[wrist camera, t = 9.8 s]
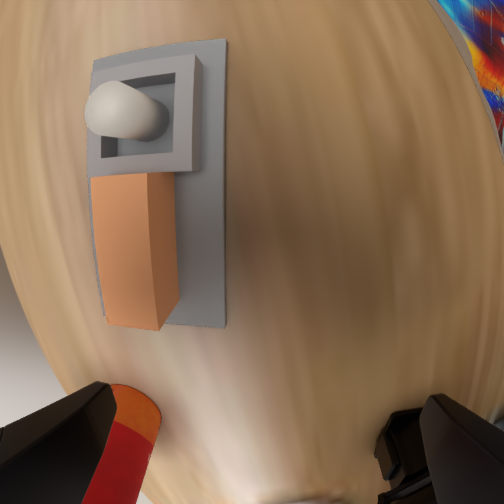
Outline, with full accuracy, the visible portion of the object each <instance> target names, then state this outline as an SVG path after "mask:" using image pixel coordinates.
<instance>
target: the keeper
mask: <svg viewBox="0 0 504 504" xmlns="http://www.w3.org/2000/svg"><path fill="white" fill-rule="evenodd" d="M190 54H196V56H197V57H198V58H199V60H200V61H201V63H202V64H203V65H204V66H203V89H202V123H201V171H177V172H174V192H175V227H176V249H177V267H178V282H179V295H180V301H179V302H178V303H177V305H176V306H175V308H174V309H173V311H172V312H171V314H170V315H169V317H168V318H167V320H166V321H165V323H166V324H176V325H187V326H199V327H213V328H225V326H226V290H225V111H226V71H227V40H226V39H212V40H201V41H191V42H183V43H175V44H168V45H162V46H156V47H150V48H145V49H140V50H135V51H130V52H125V53H121V54H117V55H113V56H109V57H105V58H101V59H97V60H94V63H93V71H92V72H96V71H100V70H104V69H108V68H112V67H117V66H121V65H126V64H131V63H136V62H141V61H147V60H153V59H159V58H166V57H173V56H181V55H190ZM174 95H175V83H170V84H162V85H154V86H147V87H141V88H132V87H130V86H128V85H126V84H124V83H122V82H119V81H108V82H105V83H103V84H101V85H100V86H98V87H97V88H96V89H95V90H94V91H93V92H92V94H91V95H90V97H89V98H88V101H87V103H86V107H85V121H86V124H87V126H88V128H89V129H90V130H91V131H92V132H93V133H95V134H97V135H102V136H109V137H117V138H118V148H117V157H119V156H130V155H142V154H155V153H171V152H173V123H174ZM96 177H98V176H96ZM88 189H89V207H90V221H91V232H92V242H93V251H94V259H95V267H96V274H97V280H98V287H99V293H100V298H101V304H102V309H103V315H104V316H106V314H105V308H104V303H103V297H102V291H101V285H100V279H99V272H98V264H97V256H96V248H95V239H94V228H93V216H92V200H91V177H88Z"/></svg>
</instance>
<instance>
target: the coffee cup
mask: <svg viewBox="0 0 504 504" xmlns="http://www.w3.org/2000/svg"><path fill="white" fill-rule="evenodd" d="M111 388H112V391H113V394H114V397H115V400H116V403H117V412H116V415H115V418H114V421H113V424H112V427H111V430H110V434H109V437H108V440H107V443H106V447H105V449H104V452H103V455H102V457H101V459H100V462H99V464H98V466H97V469H96V471H95V473H94V475H93V478H92V480H91V482H90V485H89V487H88V490H87V492H86V494H85V497H84V499H83V502H82V504H136V502H137V498H138V495H139V491H140V489H141V486H142V482H143V479H144V476H145V473H146V469H147V466H148V463H149V460H150V457H151V454H152V450H153V447H154V444H155V441H156V438H157V434H158V431H159V428H160V424H161V414H160V411H159V409H158V407H157V406H156V405H155V403H154V402H153V401H152V400H151V399H150V398H148V397H147V396H146V395H145V394H143V393H141V392H140V391H138V390H136V389H134V388H132V387H129V386H125V385H118V384H116V385H111Z"/></svg>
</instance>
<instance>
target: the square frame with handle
mask: <svg viewBox="0 0 504 504" xmlns="http://www.w3.org/2000/svg"><path fill="white" fill-rule="evenodd" d="M203 66H204V65H203V64H202V63H201V61H200V60H199V58H198V57H197V56H196V54H190V55H181V56H173V57H166V58H159V59H153V60H147V61H141V62H136V63H131V64H126V65H121V66H117V67H112V68H108V69H104V70H100V71H96V72H92V74H91V84H90V95H91V94H92V92H93V91H94V90H95V89H96V88H97V87H98V86H100V85H101V84H103V83H105V82H108V81H119V82H122V83H124V84H126V85H128V86H130V87H132V88H141V87H147V86H154V85H162V84H170V83H175V95H174V123H173V152H171V153H155V154H142V155H130V156H119V157H117V148H118V138H117V137H109V136H102V135H97V134H95V133H93V132H92V131H91V130H90V129H89V128H88V130H87V177H91V200H92V216H93V228H94V239H95V248H96V256H97V264H98V272H99V279H100V285H101V291H102V297H103V303H104V308H105V314H106V319H107V324H110V325H117V326H124V327H132V328H139V329H147V330H156V331H159V330H160V329H161V327H162V326H163V324H164V323H165V321H166V320H167V318H168V317H169V315H170V314H171V312H172V311H173V309H174V308H175V306H176V305H177V303H178V302H179V301H180V295H179V282H178V267H177V249H176V227H175V192H174V172H177V171H201V123H202V89H203ZM90 95H89V97H90ZM96 176H98V177H96Z"/></svg>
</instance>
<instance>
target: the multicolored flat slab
mask: <svg viewBox="0 0 504 504" xmlns="http://www.w3.org/2000/svg"><path fill="white" fill-rule="evenodd" d="M428 1H429V3H430V4H431V6H432V7H433V9H434V10H435V12H436V13H437V15H438V16H439V18H440V19H441V21H442V23H443V24H444V26H445V27H446V29H447V31H448V32H449V34H450V36H451V38H452V39H453V41H454V43H455V45H456V46H457V48H458V50H459V52H460V54H461V56H462V58H463V60H464V62H465V64H466V65H467V68H468V70H469V72H470V74H471V76H472V78H473V80H474V82H475V85H476V87H477V89H478V91H479V94H480V96H481V98H482V101H483V103H484V106H485V108H486V111H487V113H488V116H489V119H490V122H491V124H492V127H493V130H494V133H495V136H496V139H497V142H498V145H499V149H500V152H501V156H502V159H503V163H504V0H428Z"/></svg>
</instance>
